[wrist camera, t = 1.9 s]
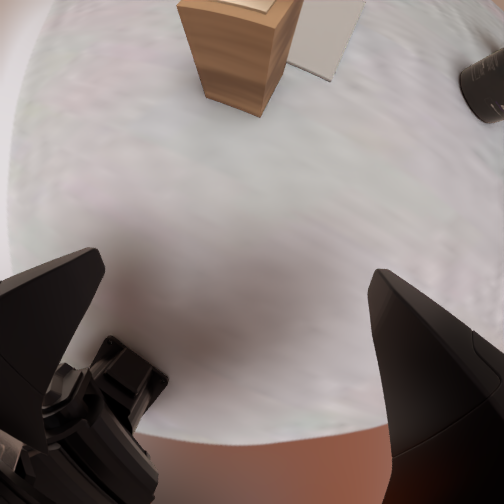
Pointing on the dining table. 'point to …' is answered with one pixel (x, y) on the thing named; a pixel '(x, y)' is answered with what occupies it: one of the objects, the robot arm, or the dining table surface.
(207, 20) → the walnut block
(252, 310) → the dining table surface
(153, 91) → the dining table surface
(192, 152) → the dining table surface
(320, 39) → the felt pad
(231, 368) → the dining table surface
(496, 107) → the supplement bottle
